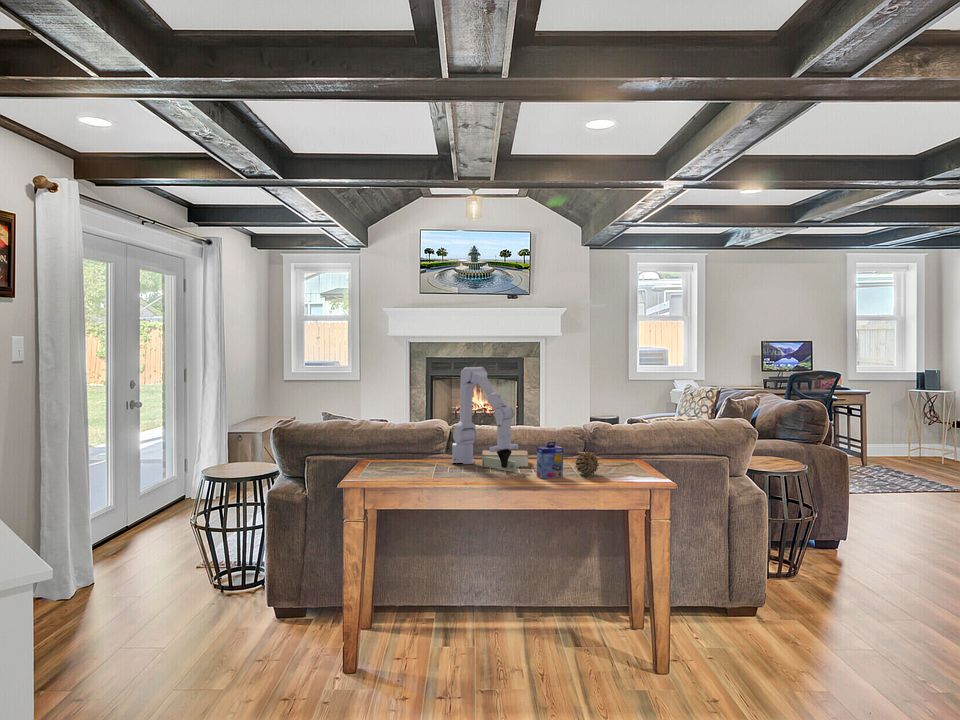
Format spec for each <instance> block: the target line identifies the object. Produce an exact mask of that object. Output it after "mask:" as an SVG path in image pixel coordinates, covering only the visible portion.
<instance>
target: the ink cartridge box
mask: <svg viewBox="0 0 960 720" xmlns="http://www.w3.org/2000/svg"><path fill="white" fill-rule="evenodd" d="M563 467H564V447H562V446H560V445H556V441H549V442H547V443H546V446H545V445H544V446H543V445H542V446H537V447H536V477H538V478H539V479H542V480H544V479H557V478H556V477H559V478H563V476H564V475H563V474H564V468H563Z"/></svg>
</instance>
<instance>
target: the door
mask: <svg viewBox="0 0 960 720" xmlns="http://www.w3.org/2000/svg"><path fill="white" fill-rule="evenodd" d="M482 467H486V468H491V469H496V470H503V471H508V472H513V473H516V472H517V471H518V469H517V468H518V467H517V462H516V461H510V460H508V462H507V467H506V468H503V467H502V466H501V461H500V459H498V458H492V457H486V456H485V457H483V466H482Z"/></svg>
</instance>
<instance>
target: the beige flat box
mask: <svg viewBox="0 0 960 720" xmlns="http://www.w3.org/2000/svg"><path fill="white" fill-rule="evenodd" d="M510 451H511V454H510V456H509V459H508V460H510V461H516V462H517V468H520V466H522V467H523V466H528V467H529V455H528V454H529V453H528V450H510ZM485 456H486V457H492V458H498V459H500V458H499V456H498V454H497V451H496V452H490V449H489V450H488V449H487V450H486V449H485V450H482V453H481V461H482V462H481V467H484V466H483V457H485ZM523 468H524V467H523Z"/></svg>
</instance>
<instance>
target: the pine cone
mask: <svg viewBox="0 0 960 720" xmlns="http://www.w3.org/2000/svg"><path fill="white" fill-rule="evenodd" d="M575 459H576V460H575V461H574V465H575V466H574V467H575V468H576V469H577V472H579V473H581V475H584V476H585V474H586V475H587V476H590V475H592V474H593V475H594V474H595V473H596V472H597V470H599V468H598V467H599V466H600V463H599V458H597V455H596V454H594V453H593V452H588V451H584V452H583V451H581V453H579V456H577V457H576V458H575Z"/></svg>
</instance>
